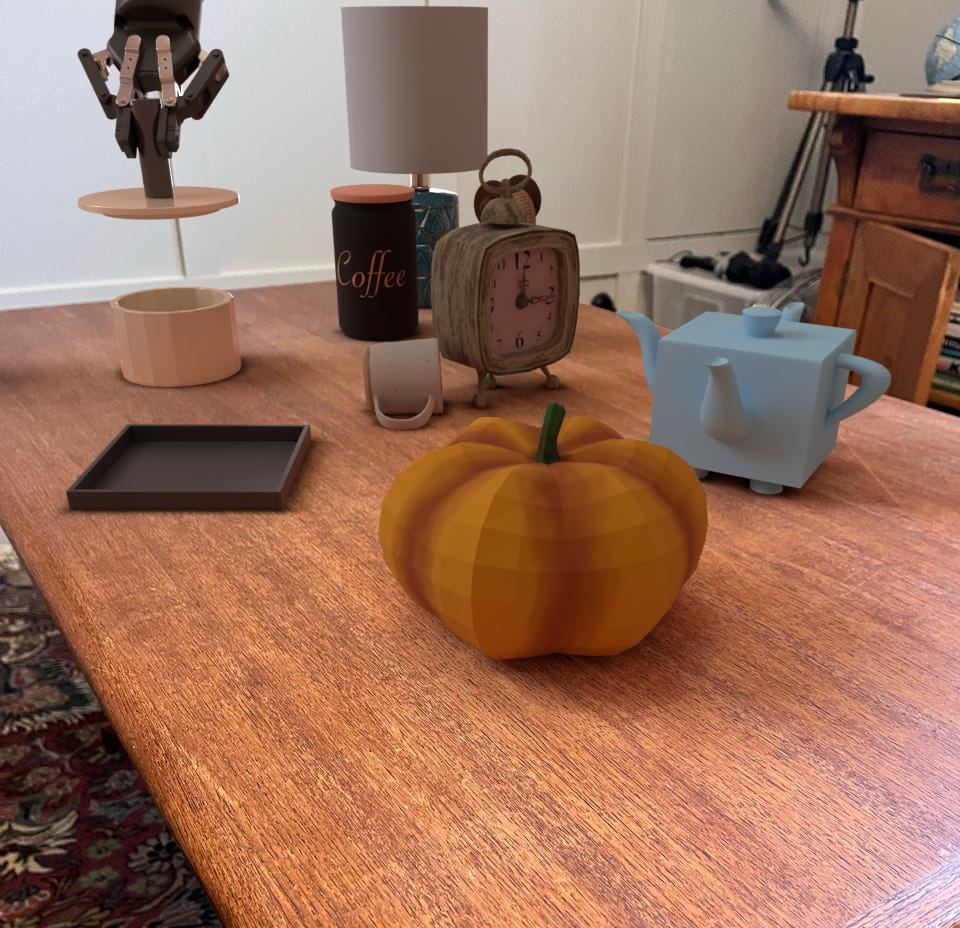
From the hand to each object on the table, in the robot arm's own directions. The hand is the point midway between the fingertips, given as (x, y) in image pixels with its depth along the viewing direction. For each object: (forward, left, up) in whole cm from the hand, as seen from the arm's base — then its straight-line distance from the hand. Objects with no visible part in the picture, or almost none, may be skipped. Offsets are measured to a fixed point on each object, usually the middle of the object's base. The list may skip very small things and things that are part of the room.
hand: (146, 151), depth 90 cm
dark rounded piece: (+33, +34, -26) cm, 54 cm away
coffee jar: (+16, +39, -26) cm, 50 cm away
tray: (+4, -12, -26) cm, 29 cm away
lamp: (+21, +57, -26) cm, 66 cm away
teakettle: (+53, -10, -26) cm, 60 cm away
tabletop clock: (+32, +13, -26) cm, 43 cm away
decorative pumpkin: (+34, -38, -26) cm, 57 cm away
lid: (0, +2, -5) cm, 5 cm away
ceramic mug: (+22, +5, -26) cm, 35 cm away
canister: (-6, +21, -26) cm, 34 cm away
